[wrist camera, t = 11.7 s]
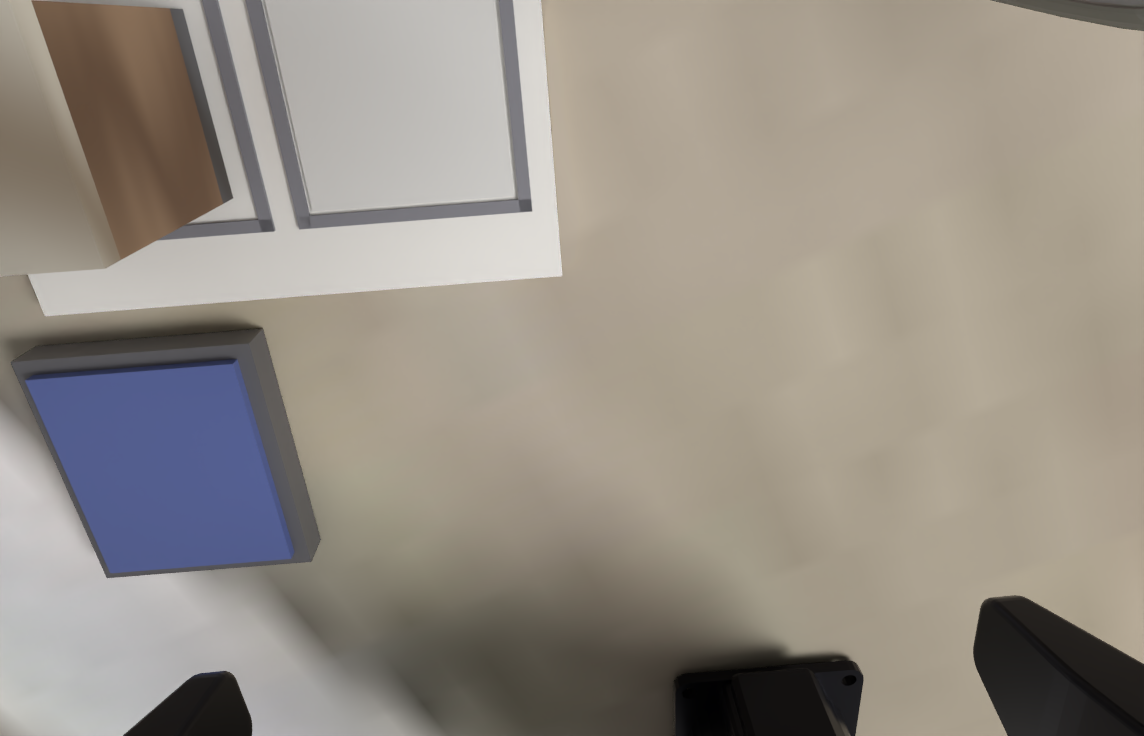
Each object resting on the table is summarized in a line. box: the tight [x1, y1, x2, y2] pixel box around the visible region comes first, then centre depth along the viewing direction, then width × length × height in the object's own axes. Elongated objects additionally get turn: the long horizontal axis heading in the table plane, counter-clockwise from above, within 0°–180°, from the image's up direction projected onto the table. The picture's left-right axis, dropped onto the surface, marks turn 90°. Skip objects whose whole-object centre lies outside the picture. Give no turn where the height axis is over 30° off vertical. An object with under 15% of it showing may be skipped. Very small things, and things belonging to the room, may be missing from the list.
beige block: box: [0, 0, 233, 276], centre depth 14 cm, size 4×4×6 cm
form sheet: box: [28, 0, 562, 316], centre depth 16 cm, size 9×13×1 cm
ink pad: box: [11, 329, 321, 578], centre depth 20 cm, size 7×6×1 cm
